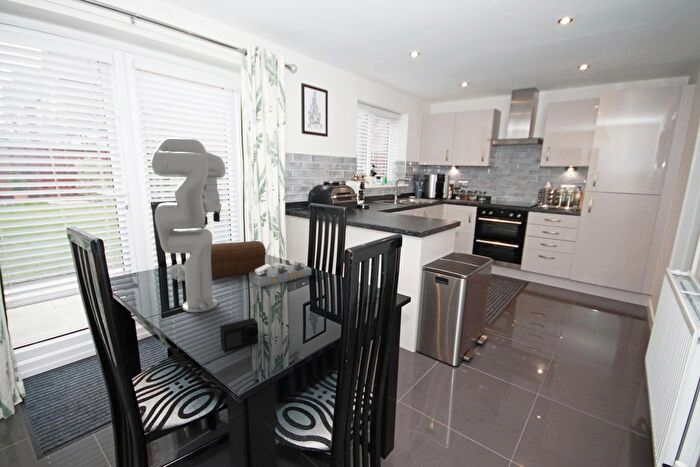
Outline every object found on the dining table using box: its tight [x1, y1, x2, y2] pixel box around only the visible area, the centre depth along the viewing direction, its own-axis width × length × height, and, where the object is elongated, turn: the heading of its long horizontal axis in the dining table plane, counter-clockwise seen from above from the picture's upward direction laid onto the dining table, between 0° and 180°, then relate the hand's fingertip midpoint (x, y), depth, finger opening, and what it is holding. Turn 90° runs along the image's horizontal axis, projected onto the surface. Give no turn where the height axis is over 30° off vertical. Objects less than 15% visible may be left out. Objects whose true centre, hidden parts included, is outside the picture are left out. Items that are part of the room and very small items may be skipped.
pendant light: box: [169, 224, 207, 282], centre depth 150 cm, size 9×9×30 cm
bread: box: [211, 240, 267, 280], centre depth 169 cm, size 18×30×16 cm, turn 120°
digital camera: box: [219, 317, 259, 353], centre depth 98 cm, size 10×5×7 cm, turn 126°
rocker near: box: [255, 263, 273, 275], centre depth 155 cm, size 5×7×2 cm, turn 131°
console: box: [248, 264, 312, 288], centre depth 162 cm, size 12×29×5 cm, turn 131°
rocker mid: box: [272, 262, 290, 270], centre depth 161 cm, size 5×7×2 cm, turn 131°
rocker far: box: [288, 259, 306, 267], centre depth 167 cm, size 5×7×2 cm, turn 131°
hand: (210, 223), depth 155 cm, fingers open, 9 cm apart
